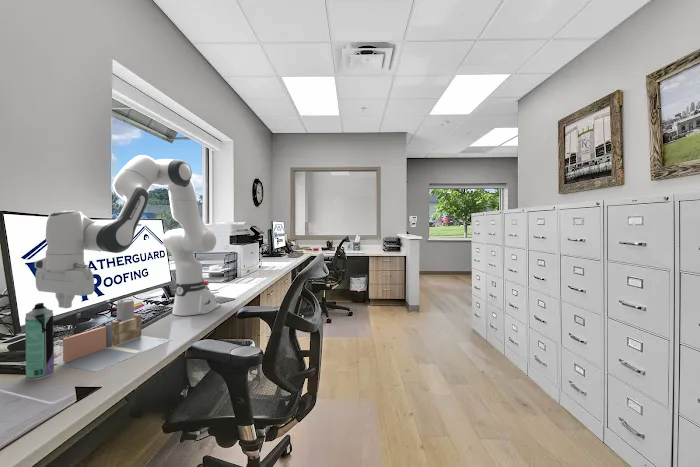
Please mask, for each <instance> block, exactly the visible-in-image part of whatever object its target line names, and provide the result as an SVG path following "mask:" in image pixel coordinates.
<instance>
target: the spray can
mask: <svg viewBox="0 0 700 467" xmlns="http://www.w3.org/2000/svg"><path fill="white" fill-rule="evenodd" d="M53 312H54V311H53V310H52V309H50V308H47V306H45V305H44V302H39V303H36V304H34V307H33V308H32V309H31V310H30V311H29V312H27V313H25V319H24V322H25V323H24V324H25V325H24V326H25V327H24V329H25V334H24V336H25V377H26V378H25V379H26V380H28V381H36V380H41V379H44V378H48V377H49V376H51V375H53V374H54V373H55V364H54V362H55V355H54V354H55V347H54V344H55V343H54V342H55V341H54V336H55V335H54V332H55V331H54V313H53Z"/></svg>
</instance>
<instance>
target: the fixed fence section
mask: <svg viewBox="0 0 700 467" xmlns="http://www.w3.org/2000/svg"><path fill="white" fill-rule="evenodd" d="M110 324H112V345H114V346H115V345H118V344H120V343H123V342H125V341H128V340H131V339H134V338H136V337H140V336H141V335H142V314H140V313H139V314H138V313H136V314H134V318H133V319H130V320H126V321H123V322H120V323H119V321H117V320H113V321H111V322H110Z"/></svg>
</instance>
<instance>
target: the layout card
mask: <svg viewBox="0 0 700 467" xmlns="http://www.w3.org/2000/svg"><path fill="white" fill-rule="evenodd" d="M170 341H172V339H167V338H160V337H154V336H147V335H142V334H141V336H140V337H136V338H134V339H131V340H128V341H125V342H123V343H120V344H118V345H115V346H114V345H112V346H111V347H106V348H105V349H102V350H99V351H96V352H94V353H91V354H88V355H85V356H83V357H80V358H77V359H74V360H72V361H69V362H67V363H66V362H63V358H61V359H62V360H60V359H59V360H60V361H58V360H57V361H58V362H55V361H54V365H59V366H64V367H68V368H74V369H79V370H85V371H88V372H89V371H90V372H94V373H97V372H100V371H102V370H103V369H106V368H108V367H112V366H113V365H116V364H118V363H120V362H123V361H126V360H128V359H130V358H132V357H135V356H137V355H139V354H142V353H144V352H147V351H149V350H151V349H154V348H156V347H158V346H161V345H163V344H166V343H168V342H170Z"/></svg>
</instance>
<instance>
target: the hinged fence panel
mask: <svg viewBox="0 0 700 467" xmlns="http://www.w3.org/2000/svg"><path fill="white" fill-rule="evenodd" d="M111 346H112V324H111V323H106V324H104V326H101V327H97V328H93V329H91V330H87V331H84V332H81V333H77V334H73V335H70V336H66V337H63V338H62V359H63V362H66V363H67V362H69V361H72V360H74V359H77V358H80V357H83V356H85V355H88V354H91V353H94V352H96V351H99V350H102V349H105V348H106V347H111Z"/></svg>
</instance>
